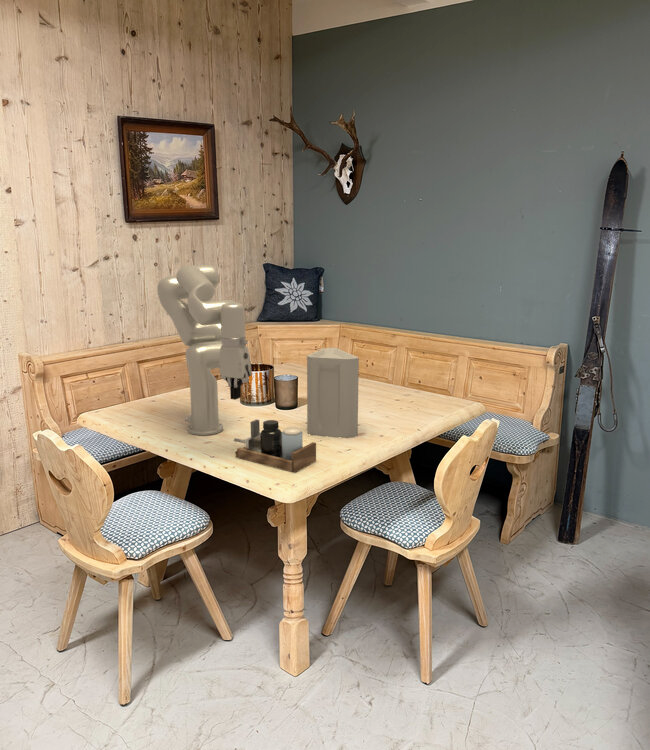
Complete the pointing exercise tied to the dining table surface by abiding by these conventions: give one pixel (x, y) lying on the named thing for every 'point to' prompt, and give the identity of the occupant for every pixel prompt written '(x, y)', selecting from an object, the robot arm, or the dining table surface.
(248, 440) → the pusher
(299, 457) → the brown wooden open box
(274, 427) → the supplement bottle
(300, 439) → the blue jar
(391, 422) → the dining table surface
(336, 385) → the grey corner cabinet
